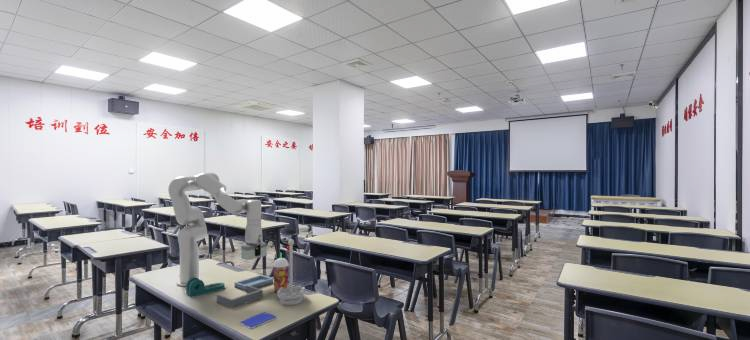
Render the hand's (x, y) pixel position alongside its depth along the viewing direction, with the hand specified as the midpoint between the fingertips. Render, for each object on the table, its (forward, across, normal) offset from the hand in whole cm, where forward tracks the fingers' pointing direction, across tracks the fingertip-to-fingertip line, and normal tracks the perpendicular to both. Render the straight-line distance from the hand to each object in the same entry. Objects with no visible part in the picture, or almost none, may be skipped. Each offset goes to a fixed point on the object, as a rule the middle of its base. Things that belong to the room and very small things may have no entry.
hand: (254, 254), depth 194 cm
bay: (+17, +13, -17) cm, 27 cm away
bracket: (+17, -12, -20) cm, 29 cm away
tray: (+17, 0, 0) cm, 17 cm away
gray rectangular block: (+1, 0, 0) cm, 1 cm away
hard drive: (+18, +40, -27) cm, 52 cm away
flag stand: (+17, +34, -3) cm, 38 cm away
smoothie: (+17, +19, +3) cm, 26 cm away
